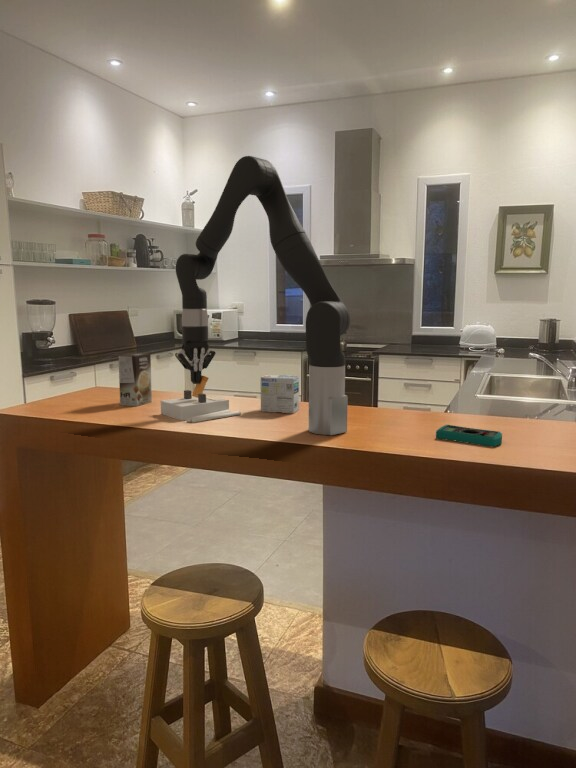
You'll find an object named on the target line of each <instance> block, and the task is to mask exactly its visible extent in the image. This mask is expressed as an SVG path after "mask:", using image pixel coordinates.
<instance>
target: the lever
mask: <svg viewBox="0 0 576 768" xmlns="http://www.w3.org/2000/svg"><path fill="white" fill-rule="evenodd" d="M201 378H202V380H201V382H200V384H195V385H194V389H193V392H192V393H191V395H192V397H193V396H194V397H196V398H198V394H202V393H203V392H204V390H205V388H206V385H207V382H208V381H209V377H207V376H206V375H202V374H201ZM203 394H204V393H203Z"/></svg>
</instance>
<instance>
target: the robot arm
mask: <svg viewBox="0 0 576 768" xmlns="http://www.w3.org/2000/svg"><path fill="white" fill-rule="evenodd" d="M248 196H254V197H256V198H257V200H258V201H259V203H260V204H261V205H262V207H263V210H264V212H265V214H266V215H267V219H268V226H269V239H270V243H271V246H272V250H273V251H274V253H275V255H276V257H277V258H278V261H279V263H280V265H281V266H282V268H283V269H284V271H285V272H286V273H287V274H288V275H289V276H290V278H291V279H292V281H294V282H295V283H296V284H297V285H298V287H299V288H300V289H301V290H302V291H303V292H304V293H303V294H305V296H306V298H307V299H308V301H309V303H310V305H311V306H310V307H309V308H308V311H307V313H306V316H305V349H306V350H305V351H306V355H307V357H308V432H310V433H312V434H314V435H315V434H316V435H323V436H324V435H326V436H335V435H338V434H343V433H344V434H345V433H347V432H348V401H349V399H348V398H349V397H348V395H347V394H345V393H346V355H345V353H344V352H343V351H342V347H341V337H342V336H343V335H344V334H345V333H347V331H348V330H349V327H350V323H351V316H350V313H349V311H348V307H347V306H346V305H345V303H344V301H343V300H342V299H341V297H340V296H339V294H338V293H337V291H336V290H335V288H334V287H333V285H332V283H331V281H330V280H329V278H328V276H327V273H326V272H325V269H324V267H323V265H322V263H321V261H320V259H319V257H318V256H317V253H316V251H315V249H314V247H313V245H312V242H311V241H310V238H309V237H308V234H307V232H306V231H305V229H304V227H303V225H302V224H301V222H300V220H299V219H298V218H299V217H298V216H297V214H296V213H295V210H294V209H293V208H294V207H292V204H291V203H290V200H289V198H288V196H287V193H286V191H285V187H284V186H283V184H282V181H281V178H280V175H279V173H278V171H277V169H276V167H275V166H274V165H273V163H271V162H270V161H269V160H267V159H264V158H261V157H256V156H252V155H245V156H243V157H241V158H239V159H238V160H237V161H236V163H235V164H234V166H233V168H232V170H231V172H230V175H229V177H228V179H227V181H226V184H225V186H224V189H223V191H222V192H221V195H220V197H219V199H218V202H217V203H216V206H215V209H214V210H213V213H212V214H211V216H210V218H209V219H208V221H207V222H206V224H205V226H204V227H203V228H202V230H201V231H200V233H199V235H198V237H197V238H196V241H195V247H196V249H197V250H198V254H195V253H194V254H193V253H183V254H180V255H179V257H178V258H177V260H176V262H175V274H176V278H177V282H178V285H179V288H180V289H179V290H180V292H181V297H182V298H181V299H182V301H181V304H182V306H181V307H182V309H181V310H182V312H181V334H182V336H181V339H182V345H181V350H180V351H179V352H176V353H175V354H174V355H175V356H174V357H175V358H176V359H177V360H178V361H179V363H180V365H181V366H182V367H183V368H184V369H185V370H188V371H190V381H191V383H192V384H193V385H196V384H200V382H201V380H202V378H201V375H202V371H203V370H204V369H207V368H208V367H209V365H210V364H211V362H212V360H213V359H214V358H215V355H216V351H215V350H212V349H211V348H210V344H209V343H208V342H209V315H208V302H207V300H208V299H207V298H208V296H207V291H206V289H204V288H202V287H199V285H198V282H197V280H204V279H206V278H208V277H209V276H211V274H212V273H213V270H214V267H215V264H216V262H217V259H218V256H219V253H220V251H221V250H222V249H223V247H224V246H225V244H226V243H227V241H228V240H229V238H230V237H231V234H232V232H233V227H234V224H235V219H236V215H237V212H238V210H239V208H240V207H241V205H242V203H243V202H244V201H245V200H246V199H247V198H248Z"/></svg>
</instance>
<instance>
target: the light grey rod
mask: <svg viewBox="0 0 576 768" xmlns="http://www.w3.org/2000/svg"><path fill="white" fill-rule="evenodd" d="M241 415H242V412H241V410H237V411H230V412H229V413H223V414H217V415H210V416H204V417H198V418H192V423H194V424H195V423H201V422H205V421H211V420H216V419H217V420H218V419H223V418H230V417H235V416H241Z"/></svg>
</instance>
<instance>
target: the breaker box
mask: <svg viewBox="0 0 576 768" xmlns="http://www.w3.org/2000/svg"><path fill="white" fill-rule="evenodd" d="M228 409H229V410H230V400H229V399H226V398H222V397H218V396H215V395H214V396H213V395H209V394H206V393H202V394H198V398H196V397H194V396H192V390H189V389H185V390H183V397H179V398H172V399H171V398H170V399H163V400H160V414H161V415H163V416H166V417H169V418H172V419H176V420H178V421H186V419H187V418H191V417H195V416H200V415H205V414H209V413H214V412H219V411H223V410H228Z"/></svg>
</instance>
